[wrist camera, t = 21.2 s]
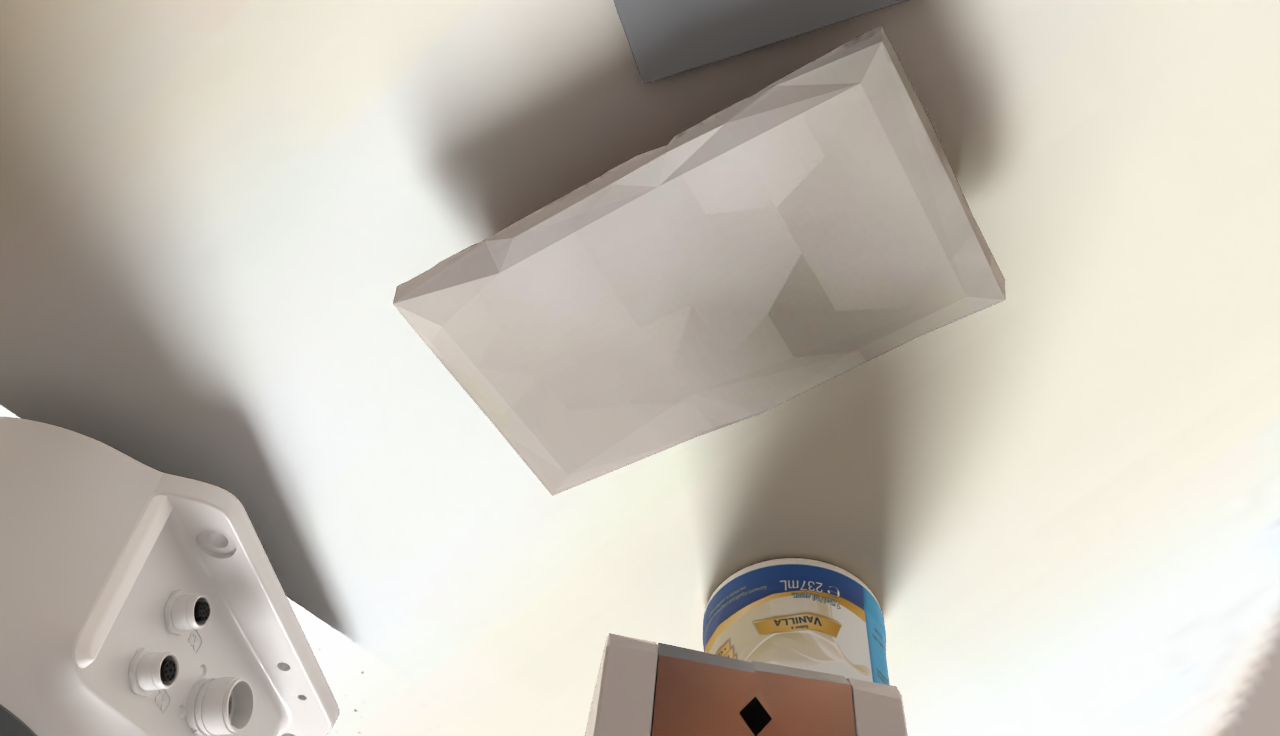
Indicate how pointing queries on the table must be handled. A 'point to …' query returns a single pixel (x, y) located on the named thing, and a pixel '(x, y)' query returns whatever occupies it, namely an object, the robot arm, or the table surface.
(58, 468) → the robot arm
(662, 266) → the packaged product
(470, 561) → the table surface
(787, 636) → the beverage bottle
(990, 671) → the table surface
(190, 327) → the table surface
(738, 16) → the mat
